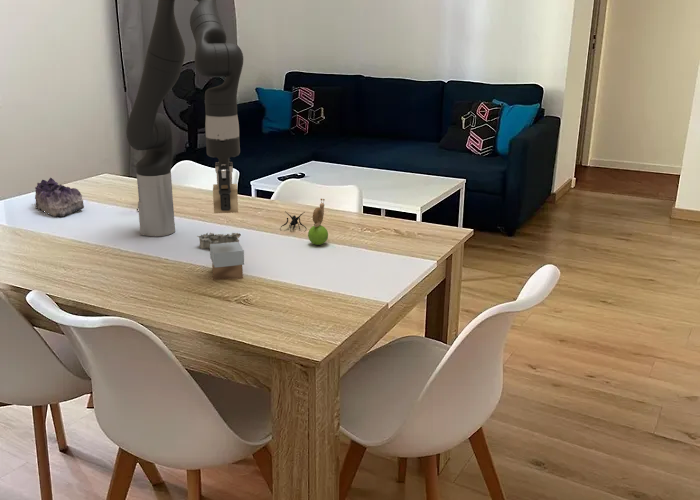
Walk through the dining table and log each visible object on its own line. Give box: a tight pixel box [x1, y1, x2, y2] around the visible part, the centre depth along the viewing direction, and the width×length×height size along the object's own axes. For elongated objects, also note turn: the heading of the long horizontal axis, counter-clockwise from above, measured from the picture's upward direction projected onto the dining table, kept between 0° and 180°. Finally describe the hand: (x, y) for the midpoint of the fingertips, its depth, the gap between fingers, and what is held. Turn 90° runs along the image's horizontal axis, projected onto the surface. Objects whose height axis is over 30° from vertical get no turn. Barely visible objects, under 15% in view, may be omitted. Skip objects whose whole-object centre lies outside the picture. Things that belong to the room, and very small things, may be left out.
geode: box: [34, 177, 85, 218], centre depth 225 cm, size 20×12×10 cm, turn 49°
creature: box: [279, 211, 307, 233], centre depth 209 cm, size 8×5×8 cm
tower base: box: [211, 263, 244, 281], centre depth 175 cm, size 7×7×4 cm
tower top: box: [209, 241, 245, 268], centre depth 174 cm, size 7×7×4 cm
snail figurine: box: [307, 198, 329, 246], centre depth 195 cm, size 5×6×12 cm
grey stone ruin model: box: [196, 232, 241, 249], centre depth 194 cm, size 10×7×4 cm
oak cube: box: [212, 183, 239, 214], centre depth 169 cm, size 6×6×6 cm
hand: (225, 206), depth 170 cm, fingers closed on oak cube, 5 cm apart
